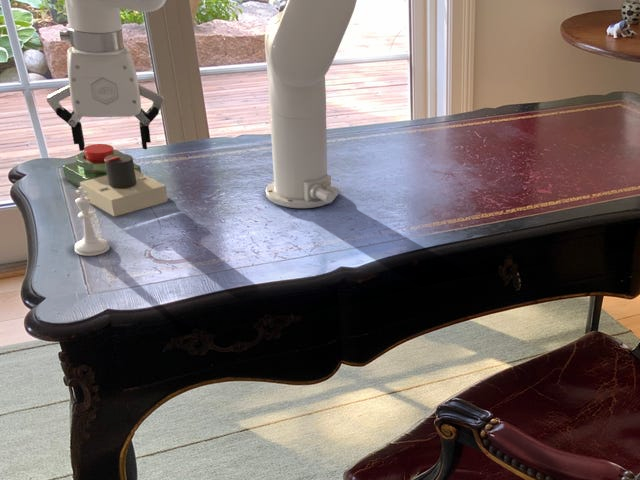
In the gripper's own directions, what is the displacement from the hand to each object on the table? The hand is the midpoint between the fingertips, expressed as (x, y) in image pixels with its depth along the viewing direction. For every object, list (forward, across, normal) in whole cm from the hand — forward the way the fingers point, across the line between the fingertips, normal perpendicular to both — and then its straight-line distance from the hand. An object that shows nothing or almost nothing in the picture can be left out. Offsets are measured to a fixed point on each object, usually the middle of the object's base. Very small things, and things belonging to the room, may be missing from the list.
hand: (113, 147), depth 136 cm
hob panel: (+9, +1, 0) cm, 9 cm away
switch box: (+10, -3, +10) cm, 14 cm away
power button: (+5, -3, +10) cm, 12 cm away
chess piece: (+10, -4, -18) cm, 21 cm away
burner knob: (+6, +1, 0) cm, 6 cm away
